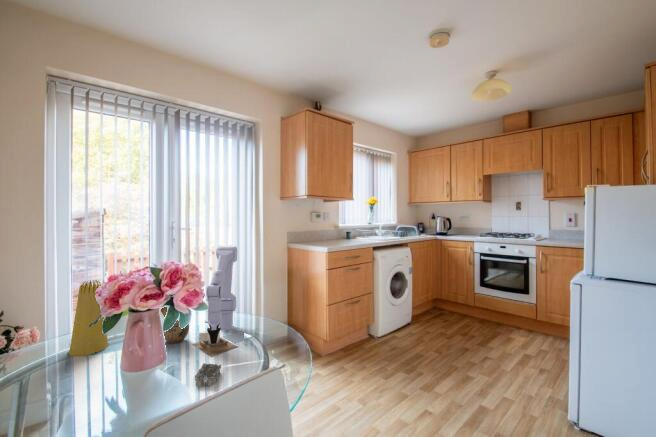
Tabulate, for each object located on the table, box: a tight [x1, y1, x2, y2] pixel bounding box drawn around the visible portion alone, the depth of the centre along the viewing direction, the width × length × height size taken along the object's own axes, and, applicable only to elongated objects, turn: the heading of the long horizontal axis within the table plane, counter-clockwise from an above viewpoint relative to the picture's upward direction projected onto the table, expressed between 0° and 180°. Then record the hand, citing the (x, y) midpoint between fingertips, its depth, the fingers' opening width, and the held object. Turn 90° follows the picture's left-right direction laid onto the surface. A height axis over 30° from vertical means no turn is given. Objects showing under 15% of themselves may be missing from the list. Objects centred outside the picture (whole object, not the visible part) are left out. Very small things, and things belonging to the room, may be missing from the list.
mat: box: [222, 330, 247, 344], centre depth 144 cm, size 11×11×1 cm
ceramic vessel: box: [160, 307, 190, 344], centre depth 137 cm, size 16×9×25 cm, turn 93°
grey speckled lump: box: [194, 362, 222, 388], centre depth 108 cm, size 11×8×4 cm
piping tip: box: [68, 279, 109, 357], centre depth 128 cm, size 14×14×30 cm
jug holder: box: [191, 336, 238, 358], centre depth 133 cm, size 18×13×2 cm
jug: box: [198, 330, 221, 347], centre depth 133 cm, size 9×5×7 cm, turn 110°
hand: (213, 339), depth 134 cm, fingers open, 7 cm apart
